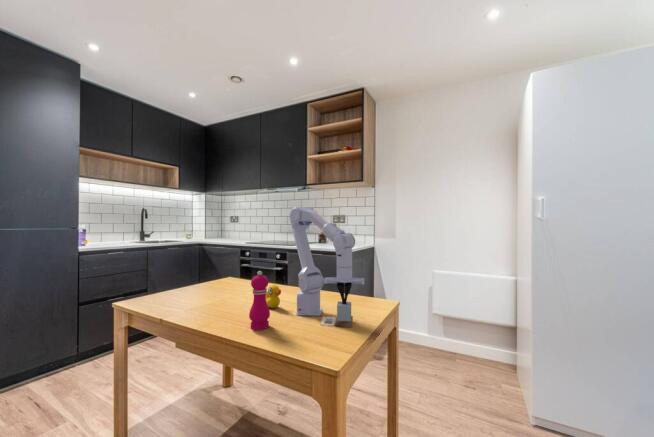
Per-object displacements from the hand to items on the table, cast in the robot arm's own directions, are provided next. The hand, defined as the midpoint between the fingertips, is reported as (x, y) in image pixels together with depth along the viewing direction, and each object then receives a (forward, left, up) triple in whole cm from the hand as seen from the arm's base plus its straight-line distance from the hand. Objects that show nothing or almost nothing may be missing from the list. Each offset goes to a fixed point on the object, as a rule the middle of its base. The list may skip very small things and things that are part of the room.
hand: (344, 303), depth 101 cm
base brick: (0, 0, -8) cm, 8 cm away
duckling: (-32, +16, -8) cm, 37 cm away
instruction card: (-6, +2, -8) cm, 10 cm away
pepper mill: (-30, -6, -8) cm, 32 cm away
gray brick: (0, 0, -6) cm, 6 cm away
